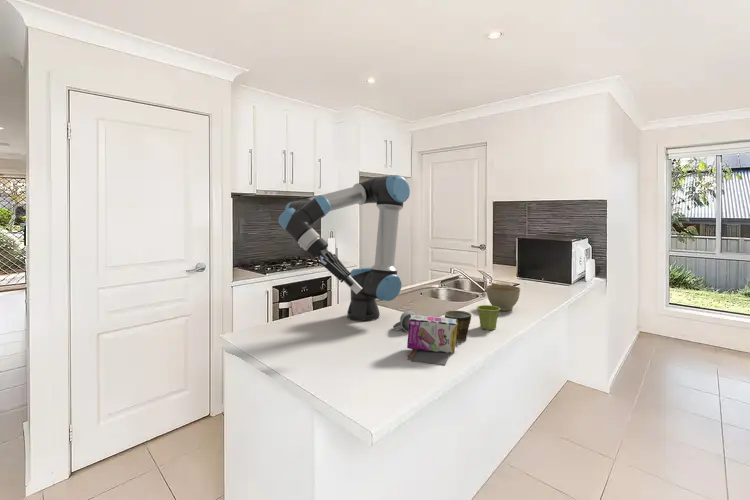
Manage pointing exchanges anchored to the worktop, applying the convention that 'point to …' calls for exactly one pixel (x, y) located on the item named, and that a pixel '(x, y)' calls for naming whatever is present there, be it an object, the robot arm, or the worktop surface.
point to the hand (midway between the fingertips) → (359, 291)
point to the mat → (431, 357)
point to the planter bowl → (503, 296)
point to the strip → (412, 354)
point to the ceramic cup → (460, 323)
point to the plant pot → (488, 316)
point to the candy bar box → (432, 333)
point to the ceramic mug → (403, 321)
